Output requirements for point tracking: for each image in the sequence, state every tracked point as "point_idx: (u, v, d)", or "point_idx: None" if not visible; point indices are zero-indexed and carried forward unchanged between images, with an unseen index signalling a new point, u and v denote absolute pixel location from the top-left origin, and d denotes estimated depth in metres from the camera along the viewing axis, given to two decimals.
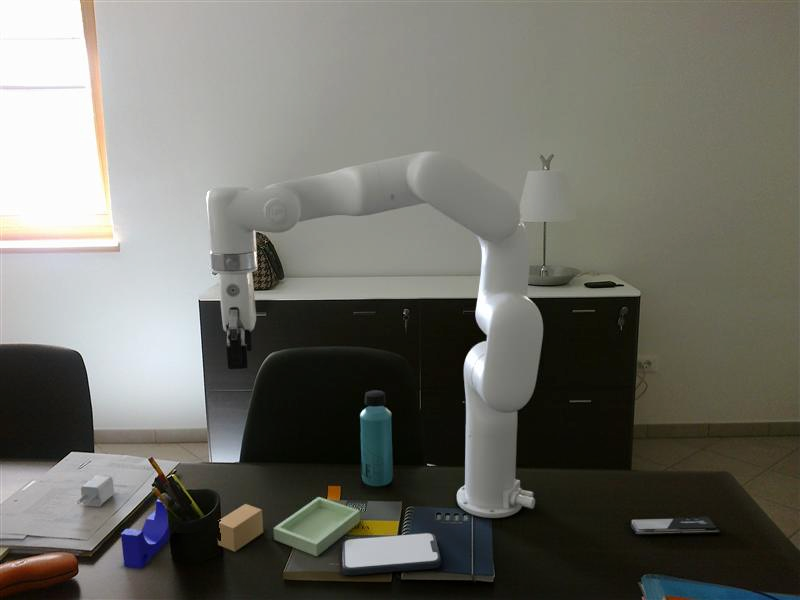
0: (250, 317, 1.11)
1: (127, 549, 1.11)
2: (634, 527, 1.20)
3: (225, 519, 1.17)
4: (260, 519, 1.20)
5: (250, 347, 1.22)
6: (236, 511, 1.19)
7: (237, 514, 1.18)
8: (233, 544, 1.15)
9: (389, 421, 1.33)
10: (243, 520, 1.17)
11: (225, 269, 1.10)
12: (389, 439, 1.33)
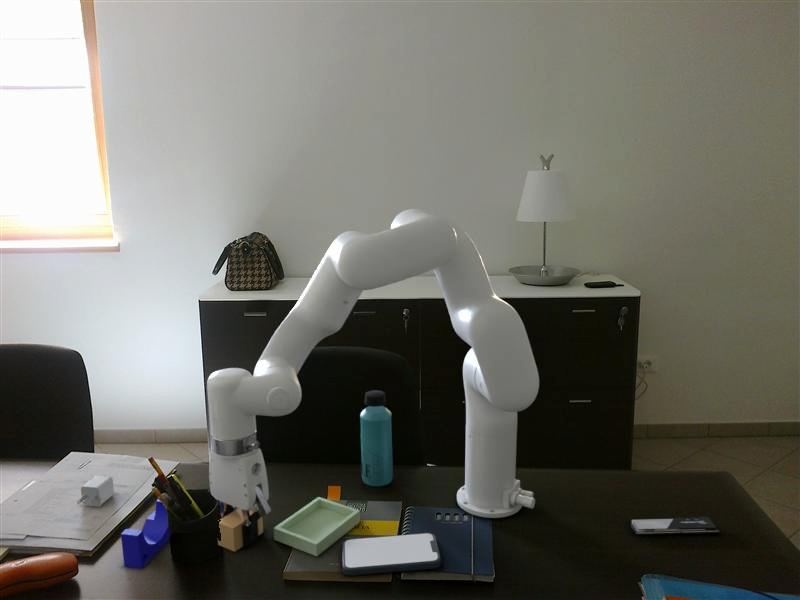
0: (267, 488, 1.17)
1: (127, 549, 1.11)
2: (634, 527, 1.20)
3: (225, 519, 1.17)
4: (260, 519, 1.20)
5: None
6: (236, 511, 1.19)
7: (237, 514, 1.18)
8: (233, 544, 1.15)
9: (389, 421, 1.33)
10: (243, 520, 1.17)
11: (246, 451, 1.12)
12: (389, 439, 1.33)
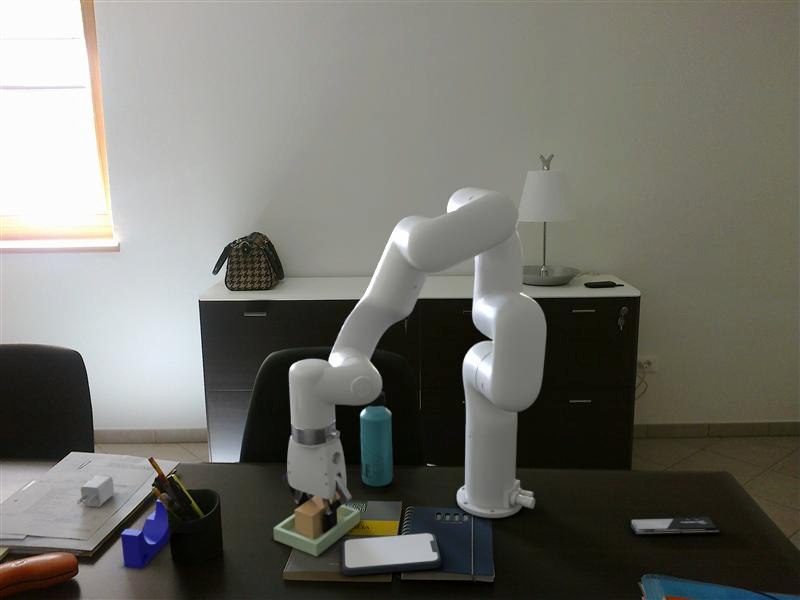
0: (345, 477, 1.19)
1: (127, 549, 1.11)
2: (634, 527, 1.20)
3: (303, 508, 1.19)
4: None
5: None
6: (312, 500, 1.21)
7: (314, 503, 1.20)
8: (312, 532, 1.17)
9: (389, 421, 1.33)
10: (320, 508, 1.19)
11: (327, 441, 1.14)
12: (389, 439, 1.33)
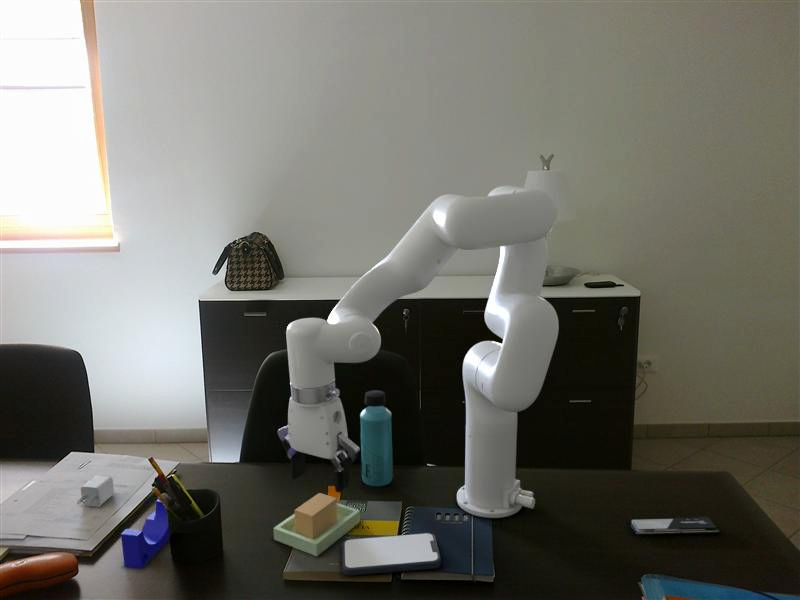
0: (347, 437, 1.17)
1: (127, 549, 1.11)
2: (634, 527, 1.20)
3: (303, 508, 1.19)
4: (335, 508, 1.22)
5: (305, 469, 1.23)
6: (312, 500, 1.21)
7: (314, 503, 1.20)
8: (312, 532, 1.17)
9: (389, 421, 1.33)
10: (320, 508, 1.19)
11: (327, 400, 1.13)
12: (389, 439, 1.33)
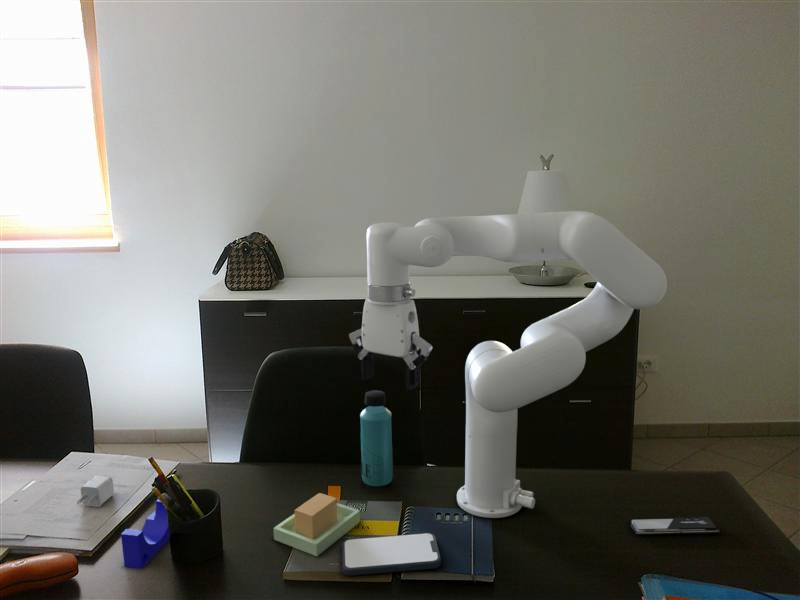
0: None
1: (127, 549, 1.11)
2: (634, 527, 1.20)
3: (303, 508, 1.19)
4: (335, 508, 1.22)
5: (373, 373, 1.28)
6: (312, 500, 1.21)
7: (314, 503, 1.20)
8: (312, 532, 1.17)
9: (389, 421, 1.33)
10: (320, 508, 1.19)
11: (403, 299, 1.19)
12: (389, 439, 1.33)
